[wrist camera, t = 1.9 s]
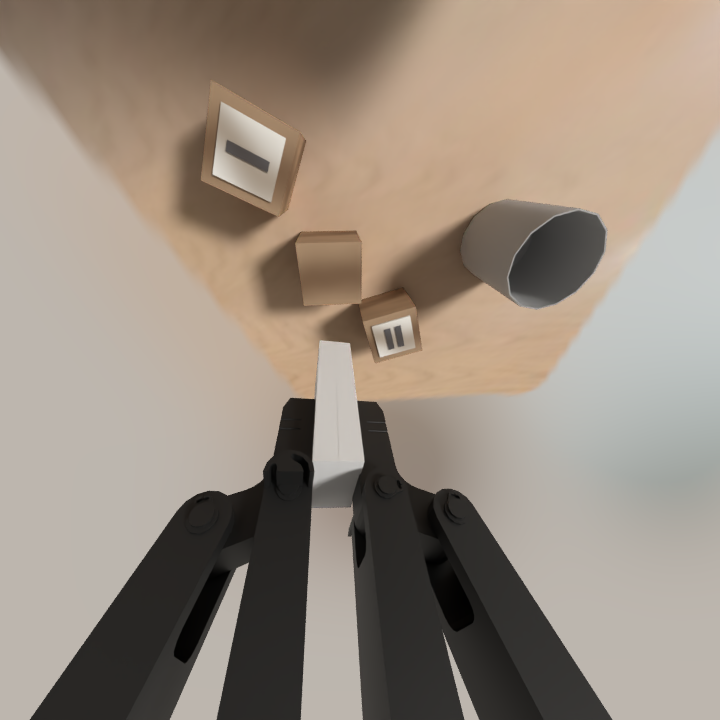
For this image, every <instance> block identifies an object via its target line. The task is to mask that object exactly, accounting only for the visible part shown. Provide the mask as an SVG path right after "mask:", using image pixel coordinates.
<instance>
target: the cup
mask: <svg viewBox="0 0 720 720" xmlns="http://www.w3.org/2000/svg"><path fill="white" fill-rule="evenodd" d="M606 240H607V228H606V226H605V225H604V223H603V221H602V219H601V218H600V216H599V214H597V213H593V212H590V211H587V210H583V209H580V208H572V207H565V206H557V205H549V204H541V203H533V202H526V201H518V200H510V199H505V200H502V201H498V202H495V203H491V204H489V205H488V206H486V207H485V208H484V209H483V210H482V211H480V212H479V213H478V214H477V215H475V216H474V217H473V219H472V221H471V222H470V224H469V226H468V227H467V229H466V230H465V232H464V234H463V239H462V244H461V249H460V252H461V257H462V261H463V265H464V266H465V267H466V268H467V269H468V270H469V271H470V272H471V273H472V274H473V275H475V276H476V277H478V278H479V279H481V280H482V281H484V282H485V283H486V284H488V285H489V286H491V287H492V288H494V289H495V290H497V291H498V292H500V293H501V294H503V295H504V296H506V297H507V298H508V299H510V300H511V301H513V302H514V303H516V304H517V305H519V306H520V307H526V308H531V309H541V308H545V307H549V306H552V305H556V304H558V303H560V302H561V301H563V300H564V299H566V298H568V297H569V296H571V295H572V294H574V293H576V292H577V291H578V290H579V289H580V288H581V287H582V286H583V285H584V284H585V282H586V281H587V280H588V279H589V278H590V277H591V276H592V275H593V274H594V272H595V271H596V269H597V267H598V265H599V263H600V261H601V259H602V257H603V255H604V253H605V250H606Z"/></svg>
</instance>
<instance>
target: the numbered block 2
mask: <svg viewBox="0 0 720 720" xmlns="http://www.w3.org/2000/svg"><path fill="white" fill-rule="evenodd" d="M359 308H360V312H361V316H362V321H363V324H364V328H365V331H366V335H367V338H368V341H369V345H370V348H371V351H372V355H373V358H374V362H375V363H378V362H382V361H385V360H389V359H393V358H396V357H400V356H403V355H407V354H411V353H414V352H418V351H422V345H421V338H420V331H419V324H418V318H417V311H416V306H415V305H414V303H413V302H412V300H411V299H410V297H409V296H408V294H407V293H406V291H405V290H404V288H400V289H396V290H393V291H390V292H386V293H383V294H379V295H376V296H373V297H369V298H366V299H362V300H361V303H360V304H359Z"/></svg>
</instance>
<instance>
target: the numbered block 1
mask: <svg viewBox="0 0 720 720" xmlns="http://www.w3.org/2000/svg"><path fill="white" fill-rule="evenodd" d="M305 143H306V140H305V138H304V137H303V135H302V134H301V132H300V131H298V130H296V129H294V128H293V127H291V126H289V125H288V124H286V123H284V122H283V121H281V120H279V119H277V118H276V117H274V116H272V115H271V114H269V113H267V112H266V111H264V110H262V109H260V108H259V107H257V106H255V105H254V104H252V103H250V102H249V101H247V100H245V99H243V98H242V97H240V96H238V95H237V94H235V93H233V92H232V91H230V90H228V89H226V88H225V87H223V86H221V85H220V84H218V83H216V82H215V81H213V80H211V83H210V93H209V103H208V113H207V123H206V133H205V143H204V153H203V163H202V173H201V181H203V182H205V183H207V184H209V185H211V186H214V187H216V188H218V189H220V190H222V191H224V192H226V193H229V194H231V195H233V196H235V197H237V198H239V199H241V200H244V201H246V202H248V203H250V204H252V205H254V206H256V207H258V208H261V209H263V210H265V211H267V212H269V213H271V214H273V215H276V216H278V217H279V216H280V215H282V214H283V213H284V212H285V211H287V210H288V207H289V203H290V200H291V196H292V192H293V188H294V185H295V181H296V177H297V173H298V170H299V166H300V162H301V158H302V155H303V151H304V147H305Z"/></svg>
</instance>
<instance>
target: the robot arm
mask: <svg viewBox="0 0 720 720" xmlns="http://www.w3.org/2000/svg"><path fill="white" fill-rule="evenodd" d="M263 477H264V479H263V480H262V481H261V482H260V483H258V484H257V485H255V486H254V487H252V488H249V489H247V490H244V491H241V492H238V493H235V494H232V495H228V496H227V495H225V494H223V493H221V492H219V491H207V492H203V493H200V494H197V495H195V496H194V497H192V498H191V499H189V500H188V501H186V502H185V503H184V504H183V505H182V506H181V507H180V508H179V510H178V511H177V512H176V513H175V515H174V516H173V517H172V519H171V520H170V522H169V523H168V525H167V526H166V527H165V529H164V530H163V532H162V533H161V534H160V536H159V537H158V539H157V540H156V542H155V543H154V545H153V546H152V547H151V549H150V550H149V551H148V553H147V554H146V556H145V557H144V559H143V560H142V562H141V563H140V564H139V566H138V567H137V569H136V570H135V571H134V573H133V574H132V576H131V577H130V578H129V580H128V581H127V583H126V584H125V586H124V587H123V588H122V590H121V591H120V593H119V594H118V595H117V597H116V598H115V600H114V601H113V603H112V604H111V605H110V607H109V608H108V610H107V611H106V613H105V614H104V615H103V617H102V618H101V620H100V621H99V622H98V624H97V625H96V627H95V628H94V629H93V631H92V632H91V634H90V635H89V637H88V638H87V639H86V641H85V642H84V644H83V645H82V646H81V648H80V649H79V651H78V652H77V654H76V655H75V657H74V658H73V659H72V661H71V662H70V663H69V665H68V666H67V668H66V669H65V671H64V672H63V673H62V675H61V677H60V678H59V679H58V681H57V682H56V683H55V685H54V686H53V688H52V689H51V690H50V692H49V693H48V695H47V696H46V698H45V699H44V700H43V702H42V703H41V705H40V706H39V707H38V709H37V710H36V712H35V713H34V715H33V716H32V717H31V719H30V720H170V718H171V715H172V713H173V710H174V708H175V706H176V704H177V702H178V700H179V697H180V695H181V693H182V690H183V688H184V686H185V684H186V681H187V679H188V677H189V675H190V672H191V670H192V668H193V665H194V663H195V661H196V659H197V656H198V654H199V652H200V650H201V647H202V645H203V643H204V640H205V638H206V636H207V634H208V631H209V629H210V627H211V625H212V622H213V620H214V618H215V615H216V613H217V611H218V609H219V606H220V604H221V602H222V600H223V597H224V595H225V593H226V590H227V588H228V586H229V583H230V581H231V579H232V577H233V575H234V572H235V570H236V568H237V567H240V566H242V565H244V564H246V563H249V565H248V570H247V575H246V579H245V585H244V589H243V594H242V599H241V604H240V609H239V613H238V618H237V624H236V628H235V633H234V638H233V643H232V647H231V652H230V657H229V662H228V667H227V672H226V677H225V682H224V687H223V691H222V697H221V701H220V706H219V711H218V716H217V720H301V701H302V682H303V661H304V642H305V623H306V602H307V584H308V565H309V546H310V526H311V508H334V507H351V504H352V501H353V514H354V515H353V518H352V522H351V524H350V527H349V532H348V536H351V535H352V545H353V563H354V578H355V594H356V595H355V596H356V612H357V629H358V646H359V662H360V679H361V695H362V711H363V720H464V717H463V712H462V708H461V704H460V700H459V696H458V692H457V688H456V684H455V680H454V676H453V672H452V668H451V664H450V660H449V656H448V652H447V648H446V644H445V639H444V636H443V633H444V635H445V637H446V640H447V642H448V645H449V647H450V650H451V652H452V654H453V657H454V659H455V662H456V664H457V667H458V669H459V672H460V674H461V676H462V679H463V681H464V684H465V686H466V689H467V691H468V693H469V696H470V698H471V701H472V703H473V706H474V708H475V710H476V713H477V715H478V717H479V720H612V718H611V717H610V715H609V714H608V712H607V711H606V709H605V708H604V706H603V705H602V703H601V701H600V700H599V698H598V697H597V695H596V694H595V692H594V691H593V689H592V688H591V686H590V685H589V683H588V681H587V680H586V678H585V677H584V676H583V674H582V672H581V671H580V669H579V668H578V666H577V665H576V663H575V662H574V660H573V659H572V657H571V655H570V654H569V653H568V651H567V649H566V648H565V646H564V645H563V643H562V641H561V640H560V638H559V637H558V635H557V634H556V632H555V631H554V629H553V628H552V626H551V624H550V623H549V621H548V620H547V618H546V617H545V615H544V614H543V612H542V611H541V609H540V608H539V606H538V604H537V603H536V602H535V600H534V598H533V597H532V595H531V594H530V593H529V591H528V589H527V588H526V586H525V585H524V583H523V581H522V580H521V578H520V577H519V575H518V574H517V572H516V571H515V569H514V568H513V566H512V564H511V563H510V561H509V560H508V559H507V557H506V555H505V554H504V552H503V551H502V549H501V548H500V546H499V544H498V543H497V541H496V540H495V538H494V537H493V535H492V534H491V532H490V531H489V529H488V527H487V526H486V524H485V523H484V521H483V520H482V518H481V517H480V515H479V514H478V512H477V511H476V509H475V507H474V506H473V504H472V503H471V502H470V501H469V500H468V499H467V497H465V496H464V495H462V494H461V493H460V492H458V491H456V490H453V489H442V490H440V491H439V492H437V493H436V494H433V493H430V492H427V491H424V490H421V489H418V488H416V487H414V486H411V485H410V484H409V483H407V482H406V481H405V480H404V479H403V478H402V477H401V476H400V475H399V473H398V471H397V469H396V466H395V462H394V457H393V453H392V449H391V444H390V440H389V436H388V433H387V427H386V424H385V418H384V414H383V411H382V409H381V408H380V407H379V405H378V404H377V402H367V401H357V396H356V388H355V380H354V372H353V364H352V356H351V348H350V343H343V342H333V341H323V340H320V342H319V353H318V363H317V373H316V384H315V399H301V398H290V399H289V401H288V402H287V403H286V404H285V406H284V407H283V411H282V416H281V421H280V426H279V431H278V436H277V441H276V446H275V451H274V456H273V457H272V458H271V459H270V460H269V461H268V462H267V464H266V466H265V468H264V470H263ZM442 630H443V631H442Z"/></svg>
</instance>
